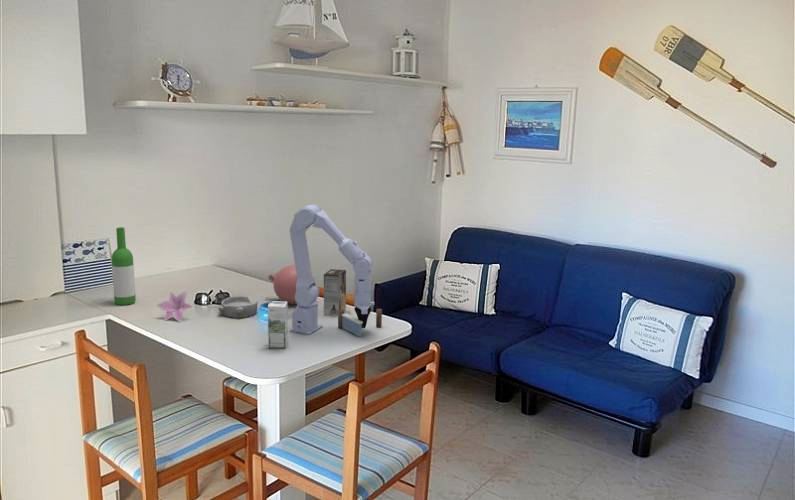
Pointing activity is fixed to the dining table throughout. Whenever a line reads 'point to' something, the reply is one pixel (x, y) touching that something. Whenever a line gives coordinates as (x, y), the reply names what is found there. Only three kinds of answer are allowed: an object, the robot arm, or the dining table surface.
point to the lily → (175, 306)
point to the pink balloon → (285, 283)
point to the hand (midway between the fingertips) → (362, 327)
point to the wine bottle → (123, 271)
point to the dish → (238, 307)
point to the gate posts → (378, 318)
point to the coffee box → (334, 291)
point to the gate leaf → (352, 324)
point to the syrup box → (277, 324)
